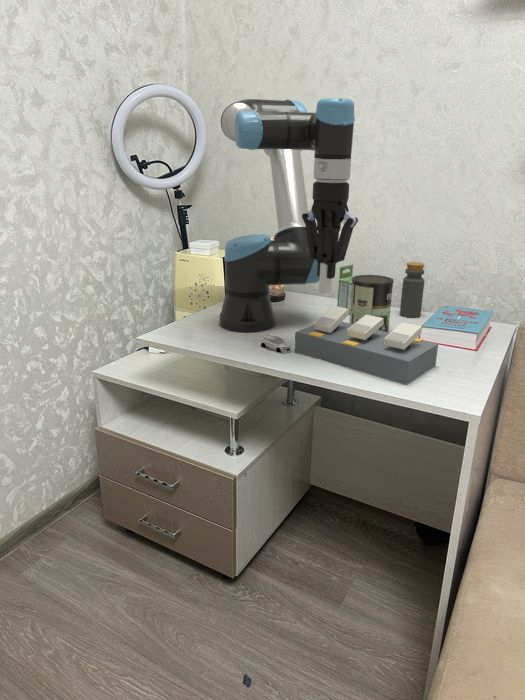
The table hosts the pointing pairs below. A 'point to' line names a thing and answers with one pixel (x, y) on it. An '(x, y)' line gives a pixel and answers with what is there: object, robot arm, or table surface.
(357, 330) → the rocker mid
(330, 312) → the rocker left
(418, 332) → the rocker right
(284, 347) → the toy car
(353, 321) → the coffee can
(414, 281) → the bottle
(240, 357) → the table surface
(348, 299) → the ink box
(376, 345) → the switch unit
